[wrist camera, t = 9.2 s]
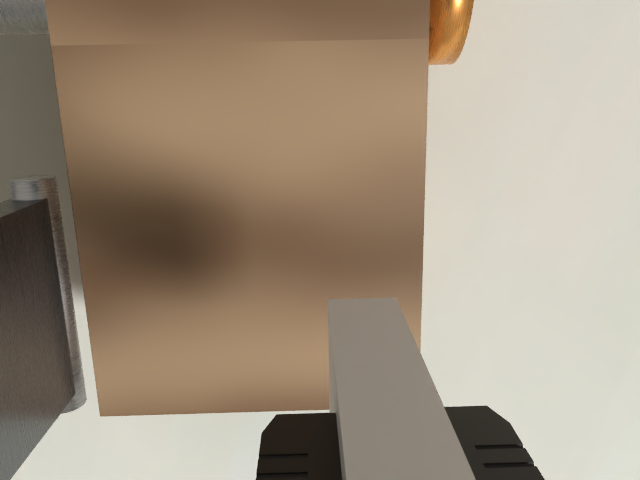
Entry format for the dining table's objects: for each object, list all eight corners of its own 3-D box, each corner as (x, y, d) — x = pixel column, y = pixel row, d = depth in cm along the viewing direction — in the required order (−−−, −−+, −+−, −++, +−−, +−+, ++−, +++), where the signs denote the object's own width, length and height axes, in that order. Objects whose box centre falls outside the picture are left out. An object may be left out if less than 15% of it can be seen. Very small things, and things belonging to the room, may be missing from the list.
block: (118, -138, 21) (8, -273, 13) (389, -141, 21) (437, -277, 13) (162, 317, 25) (100, 416, 18) (384, 311, 26) (418, 406, 18)
